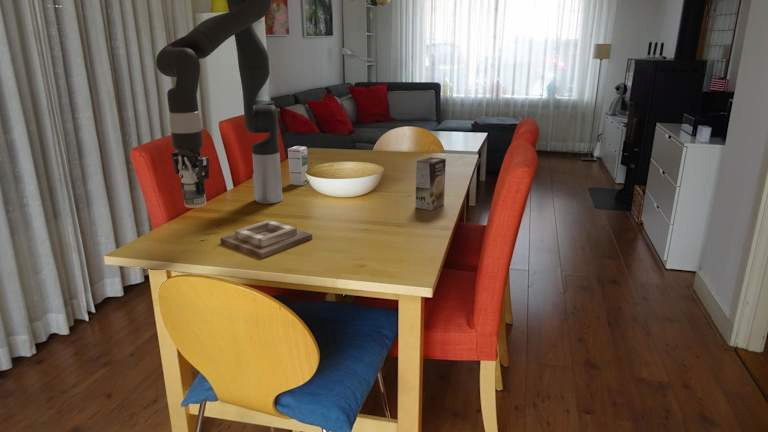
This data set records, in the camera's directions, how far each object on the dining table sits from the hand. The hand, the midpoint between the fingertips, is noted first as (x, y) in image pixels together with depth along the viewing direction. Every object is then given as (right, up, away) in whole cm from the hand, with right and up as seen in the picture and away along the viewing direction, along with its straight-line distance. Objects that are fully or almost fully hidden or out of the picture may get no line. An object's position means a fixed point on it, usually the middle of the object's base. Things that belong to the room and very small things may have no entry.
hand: (194, 192), depth 140 cm
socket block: (+17, -13, +9) cm, 24 cm away
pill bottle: (0, -4, +1) cm, 4 cm away
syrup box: (+17, +6, +69) cm, 72 cm away
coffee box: (+66, -3, +40) cm, 77 cm away
